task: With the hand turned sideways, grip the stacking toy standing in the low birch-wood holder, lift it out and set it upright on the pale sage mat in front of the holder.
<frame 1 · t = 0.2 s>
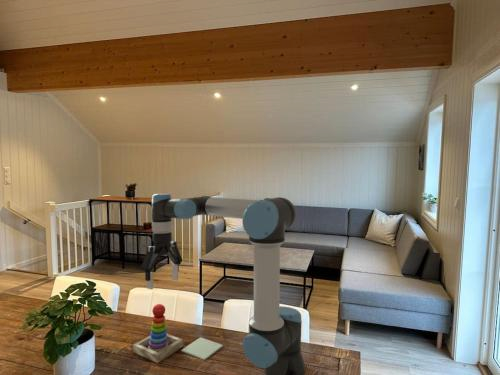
hand: (163, 284, 139), 27 cm above the table, tool pointing down, fingers open, 13 cm apart
birch holder: (158, 349, 141), on the table
sage mat: (202, 348, 141), on the table
stacking toy: (158, 349, 141), resting in birch holder
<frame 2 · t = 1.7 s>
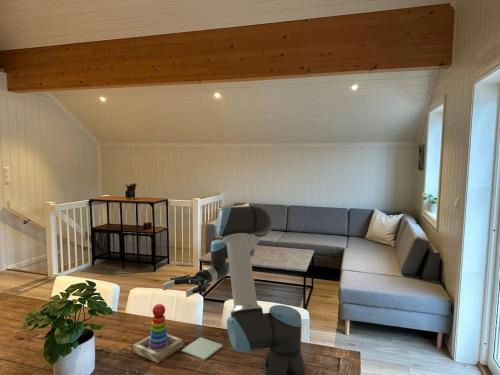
hand: (174, 290, 147), 22 cm above the table, tool horizontal, fingers open, 13 cm apart
nothing on the table moved.
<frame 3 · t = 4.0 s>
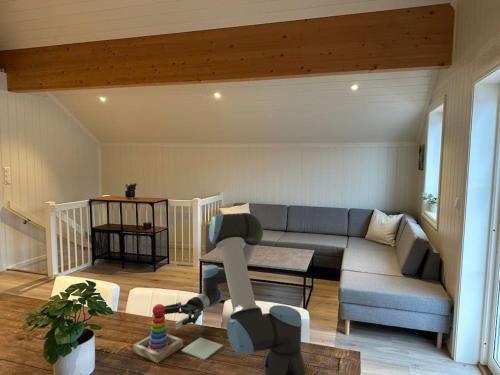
hand: (164, 321, 144), 10 cm above the table, tool horizontal, fingers open, 13 cm apart
nothing on the table moved.
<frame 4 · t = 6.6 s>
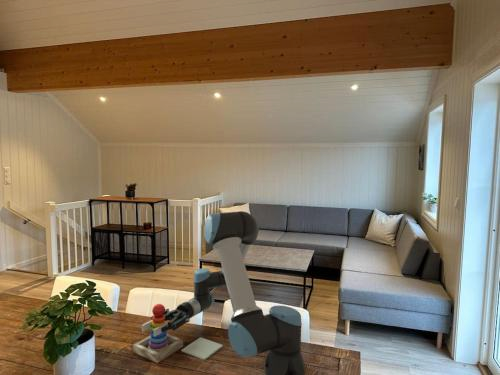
hand: (148, 330, 136), 10 cm above the table, tool horizontal, fingers closed on stacking toy, 6 cm apart
stacking toy: (158, 349, 141), resting in birch holder, touching gripper
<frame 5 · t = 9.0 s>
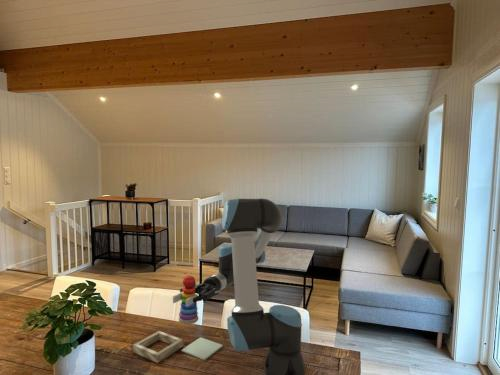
hand: (180, 301, 135), 22 cm above the table, tool horizontal, fingers closed on stacking toy, 6 cm apart
stacking toy: (188, 321, 141), point 12 cm above the table, touching gripper
when the fingers open (11 cm above the table, at t = 11.8 s): stacking toy stays where it is, resting on sage mat.
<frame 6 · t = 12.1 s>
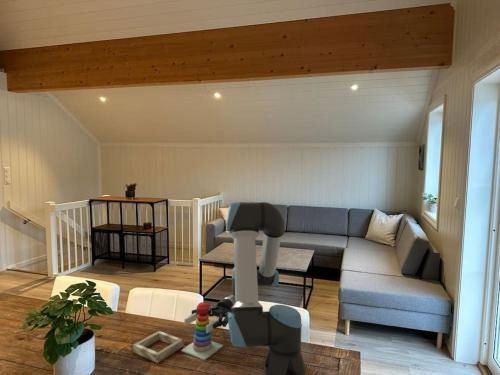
hand: (195, 325, 137), 12 cm above the table, tool horizontal, fingers open, 10 cm apart
stacking toy: (202, 347, 142), resting on sage mat
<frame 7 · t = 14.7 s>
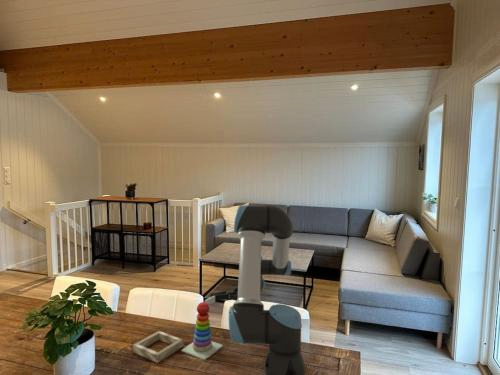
hand: (217, 306, 149), 14 cm above the table, tool horizontal, fingers open, 13 cm apart
nothing on the table moved.
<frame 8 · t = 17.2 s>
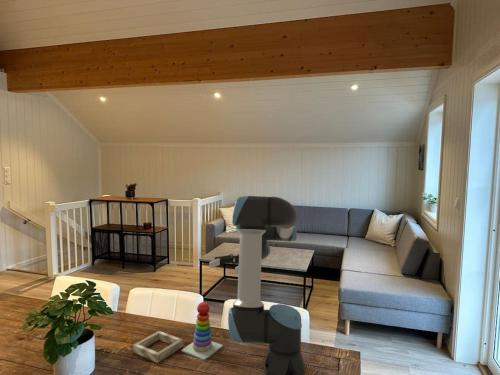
hand: (222, 267, 146), 32 cm above the table, tool horizontal, fingers open, 13 cm apart
nothing on the table moved.
at the end: stacking toy inside the target area on the sage mat (0.1 cm from its centre), point 0.4 cm above the sage mat's base; stacking toy tilted 0°; the gripper is holding nothing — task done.
